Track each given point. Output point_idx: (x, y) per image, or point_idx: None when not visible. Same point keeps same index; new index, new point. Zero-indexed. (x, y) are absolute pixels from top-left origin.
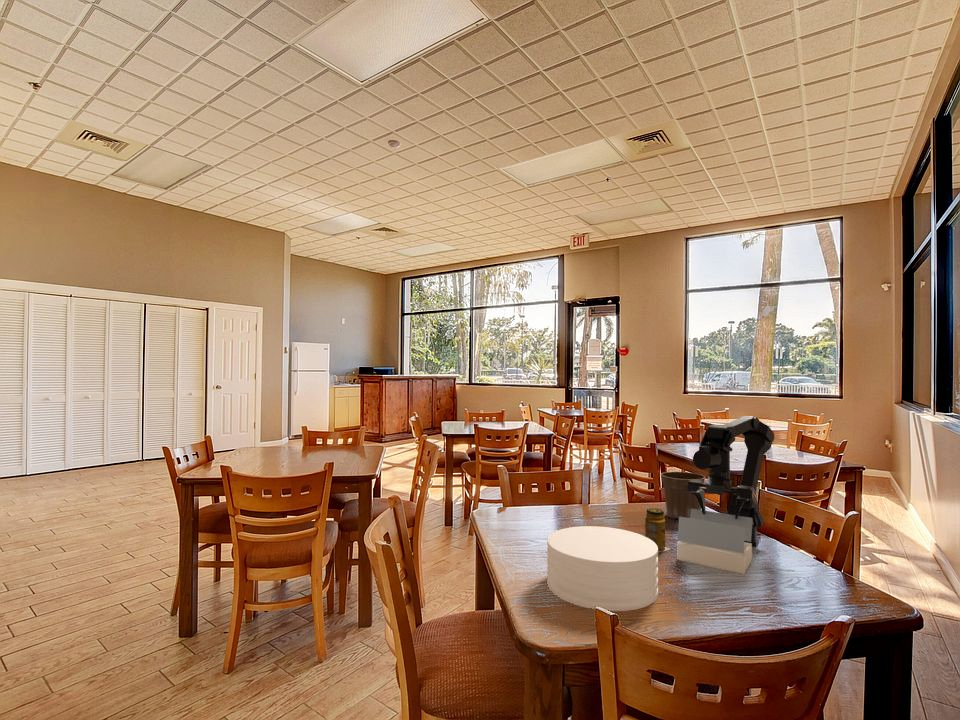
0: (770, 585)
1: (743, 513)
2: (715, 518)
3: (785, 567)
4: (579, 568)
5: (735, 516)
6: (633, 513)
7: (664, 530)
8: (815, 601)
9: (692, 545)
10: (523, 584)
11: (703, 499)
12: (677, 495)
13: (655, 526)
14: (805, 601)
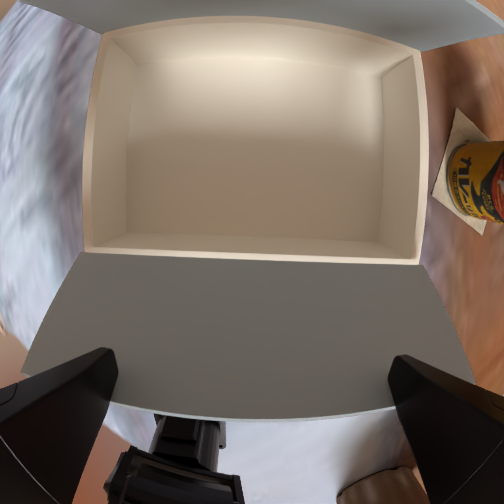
0: (71, 39)
1: (157, 491)
2: (296, 363)
3: (37, 235)
4: None
5: (97, 359)
6: None
7: (500, 172)
8: (12, 38)
9: (354, 34)
10: None
11: (463, 464)
12: None
13: None
14: (27, 21)
